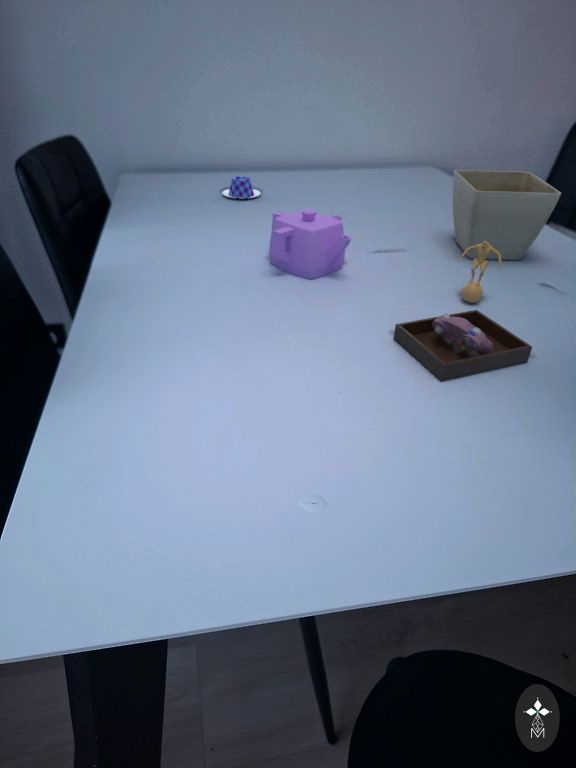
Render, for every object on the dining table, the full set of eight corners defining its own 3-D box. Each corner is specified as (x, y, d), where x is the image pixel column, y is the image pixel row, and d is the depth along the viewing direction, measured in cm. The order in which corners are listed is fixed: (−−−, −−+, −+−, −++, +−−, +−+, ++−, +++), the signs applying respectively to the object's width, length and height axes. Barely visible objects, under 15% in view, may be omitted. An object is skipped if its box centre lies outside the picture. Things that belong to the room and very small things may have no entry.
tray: (473, 324, 99) (476, 309, 97) (527, 362, 88) (532, 346, 86) (393, 339, 93) (395, 323, 92) (440, 381, 83) (444, 365, 81)
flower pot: (540, 266, 124) (563, 192, 114) (459, 264, 123) (476, 190, 114) (511, 239, 140) (530, 171, 130) (439, 237, 139) (452, 169, 130)
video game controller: (431, 344, 94) (425, 317, 89) (447, 328, 95) (443, 300, 90) (478, 369, 88) (475, 341, 83) (496, 351, 89) (494, 323, 84)
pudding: (220, 190, 171) (220, 173, 168) (257, 190, 173) (257, 173, 170) (223, 201, 161) (223, 183, 158) (263, 200, 163) (263, 182, 160)
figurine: (446, 300, 107) (459, 242, 100) (453, 290, 111) (466, 233, 105) (489, 310, 104) (504, 251, 97) (494, 299, 108) (510, 241, 102)
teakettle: (269, 251, 127) (269, 198, 120) (339, 252, 128) (344, 200, 121) (268, 280, 113) (269, 222, 106) (348, 281, 114) (353, 224, 107)
